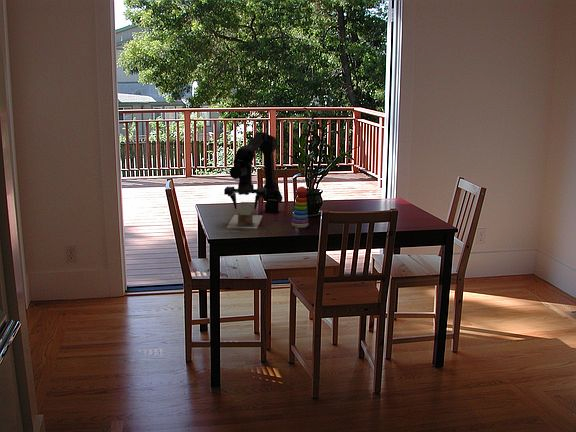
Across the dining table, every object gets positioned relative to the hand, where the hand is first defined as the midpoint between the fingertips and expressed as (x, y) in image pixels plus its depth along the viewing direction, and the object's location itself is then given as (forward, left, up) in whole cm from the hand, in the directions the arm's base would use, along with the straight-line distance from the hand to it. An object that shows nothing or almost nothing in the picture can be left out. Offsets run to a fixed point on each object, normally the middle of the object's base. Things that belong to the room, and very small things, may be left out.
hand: (245, 209), depth 316 cm
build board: (+1, -7, -8) cm, 11 cm away
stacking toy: (-25, -4, -8) cm, 27 cm away
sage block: (0, 0, -2) cm, 2 cm away
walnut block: (0, 0, -7) cm, 7 cm away
